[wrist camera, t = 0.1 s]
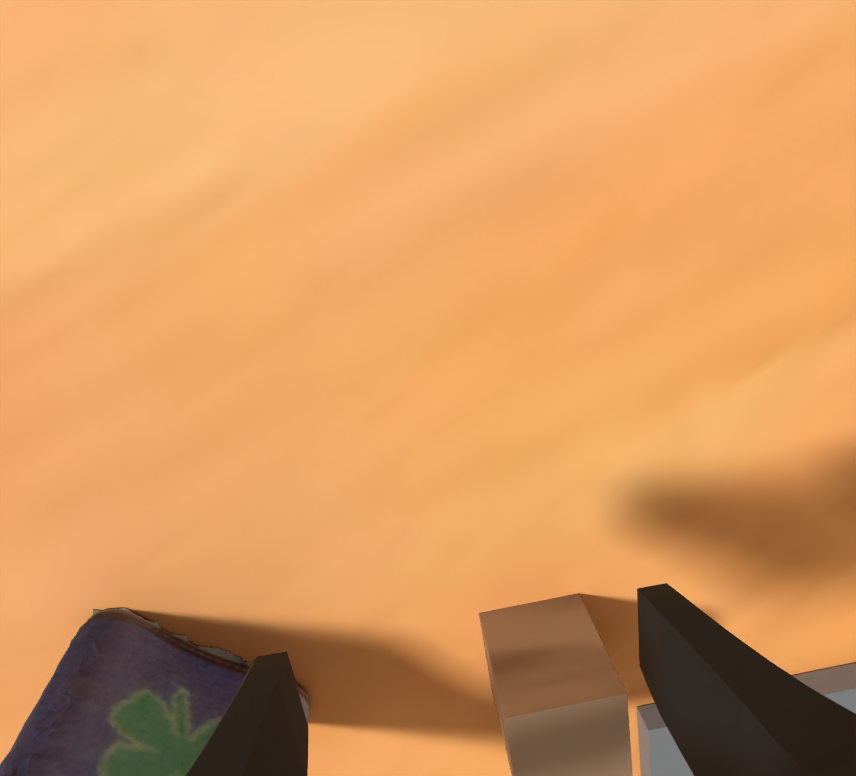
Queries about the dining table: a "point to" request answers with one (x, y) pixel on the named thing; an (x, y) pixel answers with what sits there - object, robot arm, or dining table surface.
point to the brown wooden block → (556, 691)
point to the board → (661, 755)
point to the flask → (127, 703)
